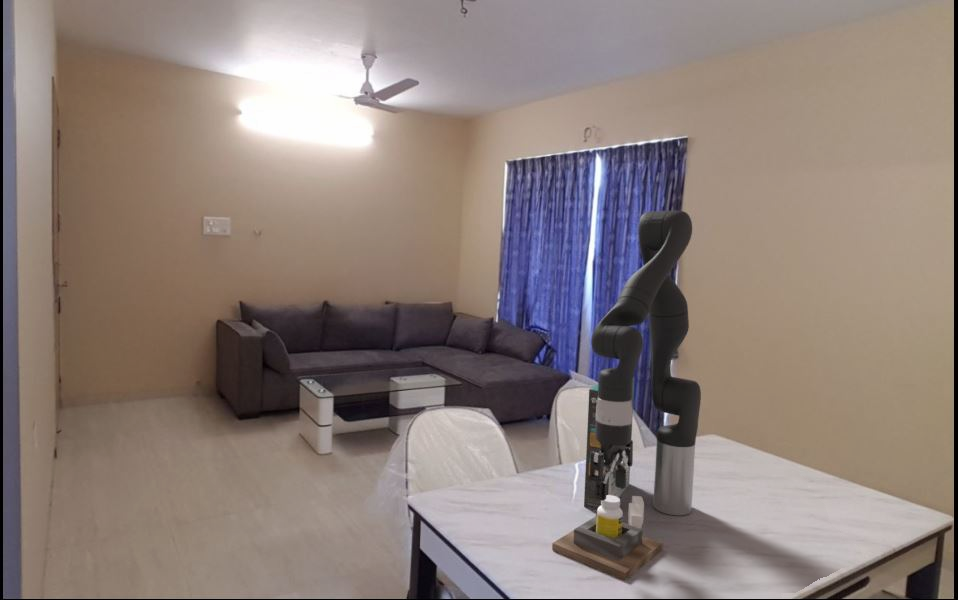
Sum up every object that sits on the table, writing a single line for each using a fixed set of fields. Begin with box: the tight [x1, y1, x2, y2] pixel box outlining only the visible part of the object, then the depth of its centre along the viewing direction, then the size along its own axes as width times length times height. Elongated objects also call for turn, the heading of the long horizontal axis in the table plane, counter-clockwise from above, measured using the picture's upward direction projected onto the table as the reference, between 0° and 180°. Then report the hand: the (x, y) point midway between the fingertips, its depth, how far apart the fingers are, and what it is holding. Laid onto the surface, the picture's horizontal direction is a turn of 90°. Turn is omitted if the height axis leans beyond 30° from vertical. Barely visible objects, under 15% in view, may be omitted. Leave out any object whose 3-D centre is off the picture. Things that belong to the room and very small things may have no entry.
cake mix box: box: [583, 377, 635, 511], centre depth 156 cm, size 22×6×30 cm, turn 152°
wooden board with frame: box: [551, 515, 664, 581], centre depth 127 cm, size 17×17×4 cm
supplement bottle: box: [596, 495, 624, 540], centre depth 126 cm, size 5×5×10 cm
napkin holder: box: [627, 495, 645, 529], centre depth 139 cm, size 15×11×6 cm
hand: (610, 493), depth 126 cm, fingers open, 8 cm apart
